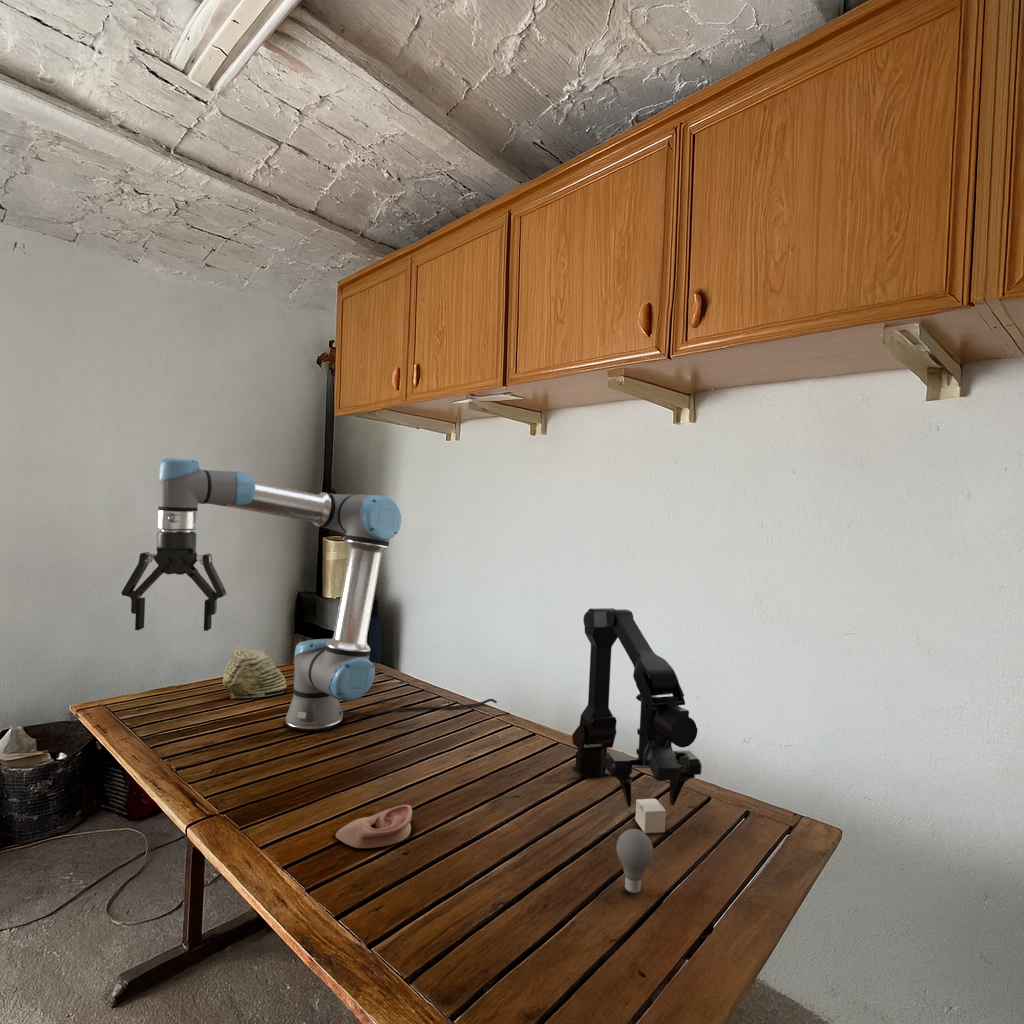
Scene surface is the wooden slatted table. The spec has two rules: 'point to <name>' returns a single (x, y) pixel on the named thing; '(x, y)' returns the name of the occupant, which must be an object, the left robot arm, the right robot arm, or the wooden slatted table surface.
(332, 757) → the wooden slatted table surface
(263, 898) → the wooden slatted table surface
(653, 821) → the block
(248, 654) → the fossil
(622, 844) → the light bulb
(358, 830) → the anatomical model
